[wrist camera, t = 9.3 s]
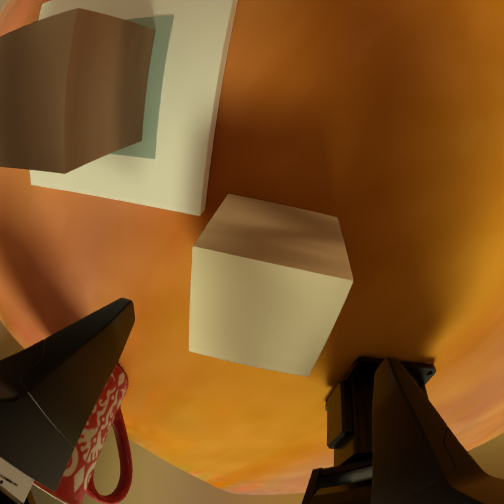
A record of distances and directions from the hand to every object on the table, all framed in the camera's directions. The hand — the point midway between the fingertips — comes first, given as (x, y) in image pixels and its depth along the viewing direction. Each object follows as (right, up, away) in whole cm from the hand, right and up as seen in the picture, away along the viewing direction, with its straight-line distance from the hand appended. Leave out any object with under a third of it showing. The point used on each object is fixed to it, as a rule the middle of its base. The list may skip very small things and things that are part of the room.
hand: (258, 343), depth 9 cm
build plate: (-7, +11, +2) cm, 13 cm away
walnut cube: (-7, +10, +1) cm, 13 cm away
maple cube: (+1, +3, +5) cm, 6 cm away
